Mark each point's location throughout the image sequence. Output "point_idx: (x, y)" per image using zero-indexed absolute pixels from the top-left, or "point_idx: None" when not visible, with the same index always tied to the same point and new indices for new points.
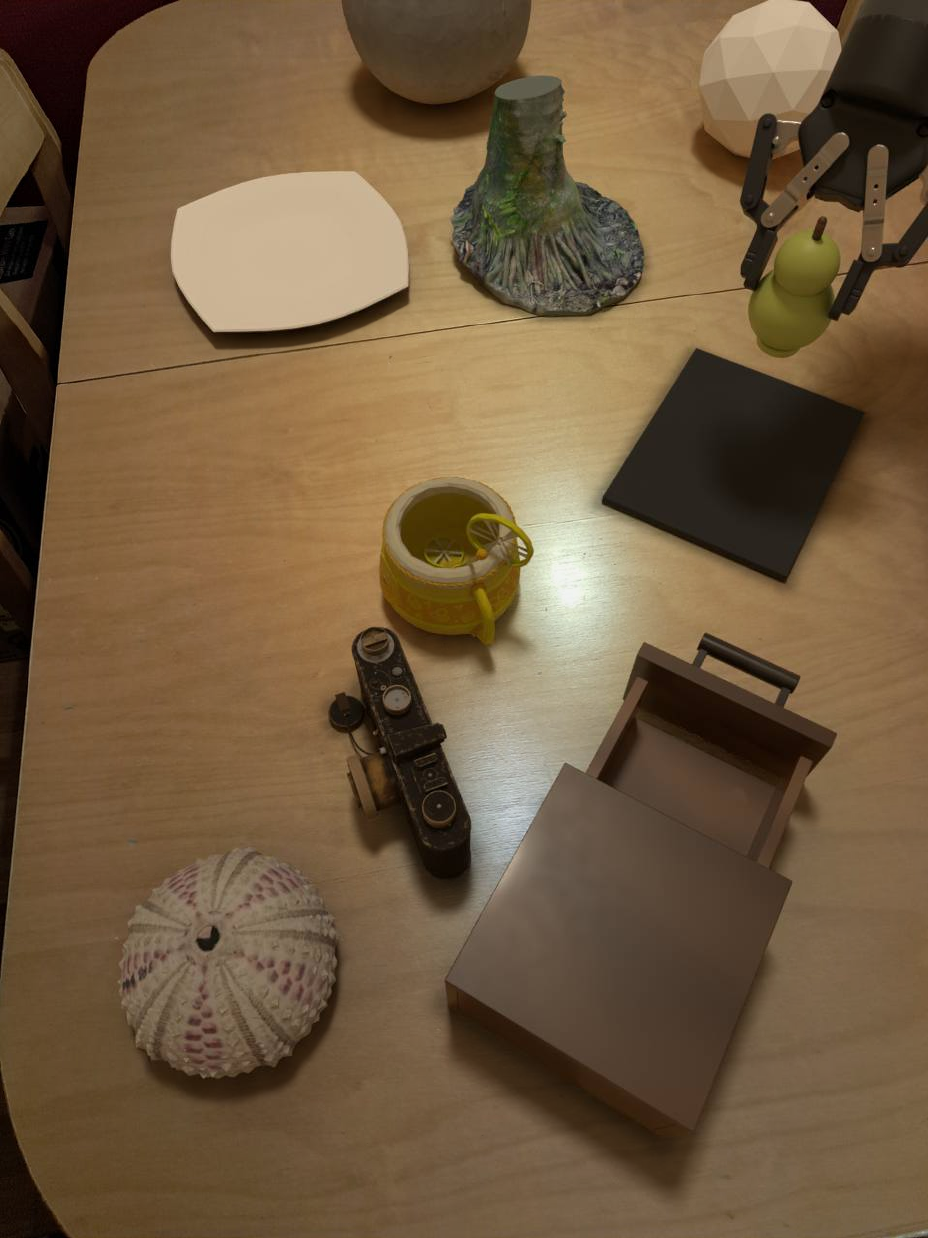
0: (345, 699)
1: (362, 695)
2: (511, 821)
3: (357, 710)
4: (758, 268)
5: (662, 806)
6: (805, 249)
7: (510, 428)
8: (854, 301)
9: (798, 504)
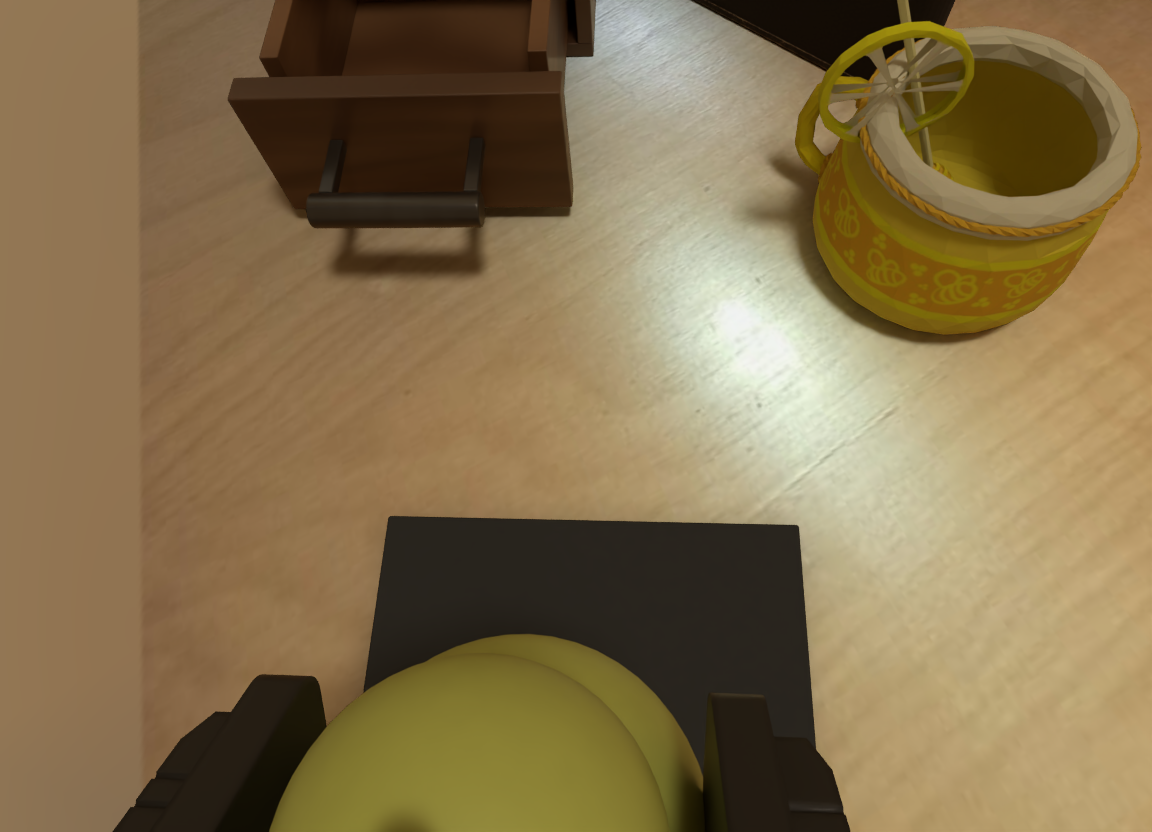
0: None
1: None
2: (634, 26)
3: None
4: (728, 746)
5: (461, 70)
6: (479, 751)
7: (1096, 630)
8: (184, 758)
9: None
